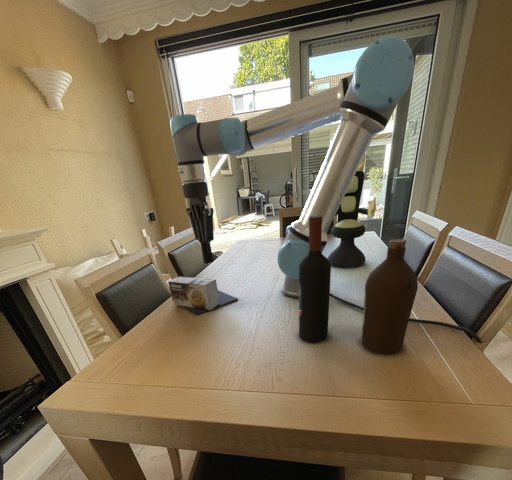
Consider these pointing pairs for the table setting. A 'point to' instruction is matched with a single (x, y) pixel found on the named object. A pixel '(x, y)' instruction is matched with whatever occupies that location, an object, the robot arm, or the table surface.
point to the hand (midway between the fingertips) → (208, 262)
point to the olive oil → (388, 301)
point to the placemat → (223, 300)
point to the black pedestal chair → (351, 224)
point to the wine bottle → (314, 288)
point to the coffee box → (194, 292)
